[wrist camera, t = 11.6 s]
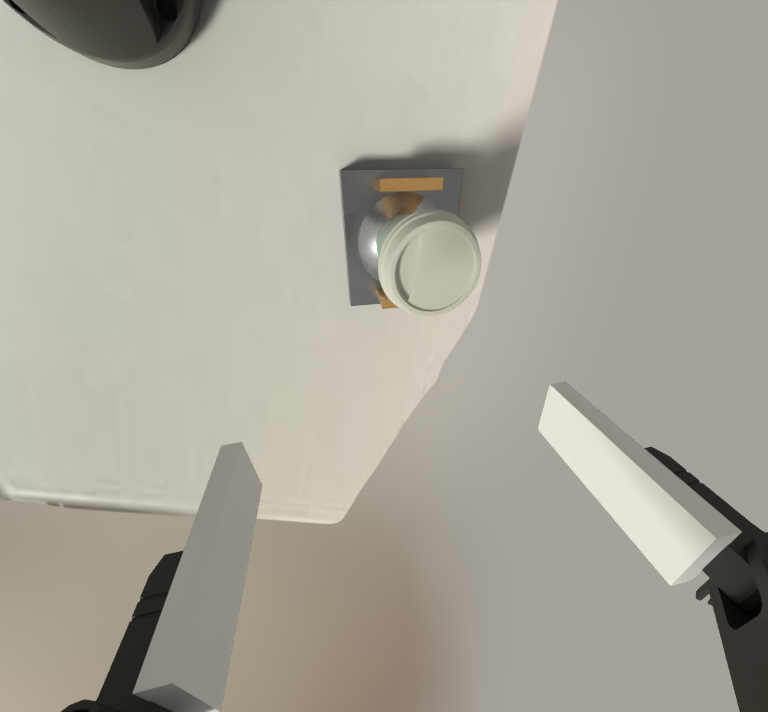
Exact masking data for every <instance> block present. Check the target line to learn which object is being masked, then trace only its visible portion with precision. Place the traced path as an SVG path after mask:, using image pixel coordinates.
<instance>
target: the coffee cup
mask: <svg viewBox="0 0 768 712" xmlns="http://www.w3.org/2000/svg"><path fill="white" fill-rule="evenodd" d="M376 248H377V254H378V258H379V262H378V274H379V280H380V283H381V286H382V289H383V291H384V292H385V294H386V296H387V297H388V298H389V299H390V300H391V302H393V303H394V304H395V305H396V306H398V307H399V308H400V309H402V310H404V311H406V312H408V313H411V314H415V315H422V316H436V315H440V314H444V313H446V312H449V311H451V310H453V309H454V308H456V307H457V306H459V305H460V304H461V303H462V302H463V301H464V300H465V299H466V298H467V297H468V296H469V295H470V293H471V292H472V290H473V289H474V287H475V285H476V283H477V280H478V277H479V274H480V268H481V255H480V250H479V246H478V243H477V239H476V237H475V235H474V233H473V231H472V230H471V228H470V227H469V226H468V225H467V224H466V223H465V222H464V221H463V220H462V219H461V218H460V217H458V216H457V215H455V214H453V213H451V212H448V211H445V210H439V209H429V210H423V211H419V212H416V213H414V214H400V215H396V216H393V217H391V218H389V219H388V220H387V221H386V222H385V223H384V224H383V225H382V226H381V228H380V230H379V232H378V234H377V238H376Z"/></svg>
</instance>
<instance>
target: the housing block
mask: <svg viewBox="0 0 768 712" xmlns="http://www.w3.org/2000/svg"><path fill="white" fill-rule="evenodd" d="M462 174H463V168H449V169H394V170H340V171H339V176H340V188H341V201H342V213H343V226H344V238H345V251H346V263H347V276H348V288H349V299H350V304H351V306H357V305H369V304H381V306H382V308H383V309H385V308H397V307H398V306H396V305H395V304H394V303H393V302H391V300H390V299H389V298H388V297H387V296H386V294H385V292H384V291H383V289H382V286H381V283H380V280H379V274H378V262H379V258H378V254H377V248H376V238H377V234H378V232H379V230H380V228H381V226H382V225H383V224H384V223H385V222H386V221H387V220H388V219H389V218H391V217H393V216H396V215H400V214H414V213H416V212H419V211H423V210H429V209H439V210H445V211H448V212H451V213H453V214H455V215H457V216H458V214H459V204H460V194H461V184H462Z"/></svg>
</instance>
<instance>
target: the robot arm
mask: <svg viewBox="0 0 768 712" xmlns="http://www.w3.org/2000/svg"><path fill="white" fill-rule="evenodd" d="M3 1H4V2H5V3H6V4H7V5H9V6H10V7H11V8H12V9H13V10H14V11H15V12H16V13H18V14H19V15H20V16H21V17H22V18H24V19H25V20H26V21H28V22H29V23H30V24H32V25H33V26H34V27H36V28H37V29H38V30H40V31H41V32H43V33H44V34H45V35H47V36H48V37H50V38H52V39H53V40H55V41H57V42H58V43H60V44H62V45H64V46H66V47H68V48H70V49H72V50H73V51H75V52H77V53H79V54H81V55H83V56H86V57H88V58H90V59H92V60H95V61H97V62H100V63H103V64H106V65H109V66H113V67H118V68H124V69H144V68H150V67H154V66H157V65H160V64H162V63H164V62H166V61H168V60H170V59H171V58H173V57H174V56H175V55H177V54H178V53H179V52H180V51H181V50H182V49H183V47H184V46H185V45H186V44H187V42H188V41H189V39H190V38H191V36H192V34H193V32H194V30H195V28H196V25H197V23H198V19H199V16H200V12H201V8H202V2H203V0H3ZM538 430H539V431H540V432H541V434H542V435H543V436H544V437H545V438H546V439H547V441H548V442H549V443H550V444H551V445H552V446H553V448H554V449H555V450H556V451H557V452H558V453H559V455H560V456H561V457H562V458H563V459H564V461H565V462H566V463H567V464H568V465H569V467H570V468H571V469H572V470H573V471H574V473H576V475H577V476H578V477H579V478H580V480H581V481H582V482H583V483H584V484H585V486H586V487H587V488H588V489H589V490H590V491H591V493H592V494H593V495H594V496H595V497H596V499H597V500H598V501H599V502H600V503H601V504H602V506H603V507H604V508H605V509H606V510H607V512H608V513H609V514H610V515H611V516H612V517H613V518H614V520H615V521H616V522H617V523H618V524H619V525H620V527H621V528H622V529H623V530H624V531H625V533H626V534H627V535H628V536H629V538H630V539H631V540H632V541H633V542H634V543H635V544H636V545H637V547H638V548H639V549H640V550H641V552H642V553H643V554H644V555H645V556H646V558H647V559H648V560H649V561H650V562H651V563H652V565H653V566H654V567H655V568H656V569H657V571H658V572H659V573H660V574H661V575H662V576H663V578H664V579H665V580H666V581H667V582H668V584H670V586H672V585H676V584H679V583H683V582H686V581H690V580H692V579H693V578H695V577H696V576H697V575H698V574H699V573H700V572H701V571H702V570H703V571H704V572H705V573H706V575H707V576H709V578H710V579H709V580H708V581H706V582H705V583H704V584H703V585H702V586H701V587H700V588H699V589H698V590H697V591H696V599H698V600H702V599H703V598H704V597H706V595H708V594H709V593H710V597H711V598H710V600H709V601H708V604H710V605H712V606H713V609H714V613H715V617H716V620H717V624H718V628H719V632H720V636H721V640H722V644H723V648H724V651H725V656H726V660H727V663H728V667H729V671H730V675H731V679H732V683H733V687H734V691H735V695H736V699H737V702H738V706H739V710H740V712H768V532H767V533H765V532H763V531H762V530H760V529H759V528H758V527H756V526H755V525H753V524H752V523H751V522H749V521H748V520H747V519H746V518H745V517H744V516H742V515H741V514H740V513H739V512H737V511H736V510H735V509H734V508H732V507H731V506H730V505H729V504H728V503H726V502H725V501H724V500H723V499H721V498H720V497H719V496H718V495H716V494H715V493H714V492H713V491H711V490H710V489H709V488H708V487H706V486H705V485H704V484H703V483H702V484H701V483H700V482H699V480H698V479H697V478H696V477H694V476H693V475H692V474H691V473H688V472H686V469H684V468H683V467H682V466H681V465H680V464H678V463H677V462H676V461H675V460H673V459H672V458H671V457H670V456H668V455H666V454H664V453H662V452H660V451H658V450H657V449H655V448H653V447H648V448H643V447H642V446H641V445H640V444H638V443H637V442H636V441H635V440H634V439H633V438H631V437H630V436H629V435H628V434H626V432H624V431H623V430H622V429H621V428H620V427H618V426H617V425H616V424H615V423H614V422H613V421H611V420H610V419H609V418H608V417H607V416H606V415H604V414H603V413H602V412H601V411H600V410H599V409H597V408H596V407H595V406H594V405H593V404H592V403H590V402H589V401H588V400H587V399H586V398H585V397H583V396H582V395H581V394H580V393H579V392H577V391H576V390H575V389H574V388H572V386H570V385H569V384H568V383H567V382H561V383H556V384H551V385H550V387H549V390H548V394H547V397H546V401H545V405H544V409H543V412H542V416H541V420H540V423H539V427H538ZM261 490H262V484H261V482H260V480H259V477H258V475H257V473H256V471H255V469H254V467H253V465H252V463H251V461H250V459H249V456H248V454H247V452H246V450H245V448H244V446H243V444H242V442H239V443H234V444H228V445H223V446H221V448H220V451H219V454H218V456H217V459H216V462H215V465H214V468H213V470H212V473H211V476H210V479H209V482H208V484H207V487H206V490H205V493H204V496H203V498H202V501H201V504H200V507H199V509H198V512H197V515H196V518H195V521H194V523H193V526H192V529H191V532H190V535H189V537H188V541H187V543H186V546H185V549H184V551H180V552H176V553H171V554H166V555H164V556H163V558H162V559H161V560H160V562H159V563H158V565H157V566H156V567H155V569H154V570H153V571H152V573H151V574H150V576H149V578H148V580H147V583H146V585H145V587H144V589H143V592H142V594H141V597H140V602H138V604H137V606H136V609H135V611H134V613H133V616H132V621H131V622H130V623H129V625H128V628H127V630H126V632H125V635H124V637H123V639H122V642H121V644H120V646H119V649H118V651H117V653H116V656H115V658H114V661H113V663H112V665H111V668H110V670H109V672H108V675H107V677H106V680H105V682H104V684H103V687H102V689H101V691H100V694H99V696H98V698H97V700H96V701H91V700H82V701H79V702H77V703H74V704H71V705H69V706H68V707H66V708H65V709H64V710H62V711H61V712H221V708H222V702H223V697H224V692H225V686H226V681H227V676H228V670H229V665H230V659H231V654H232V648H233V643H234V637H235V631H236V626H237V620H238V615H239V610H240V604H241V599H242V594H243V588H244V583H245V577H246V572H247V566H248V561H249V555H250V550H251V544H252V539H253V533H254V528H255V522H256V517H257V512H258V506H259V501H260V495H261Z"/></svg>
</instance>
